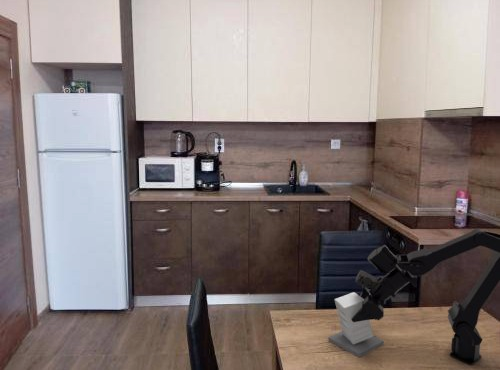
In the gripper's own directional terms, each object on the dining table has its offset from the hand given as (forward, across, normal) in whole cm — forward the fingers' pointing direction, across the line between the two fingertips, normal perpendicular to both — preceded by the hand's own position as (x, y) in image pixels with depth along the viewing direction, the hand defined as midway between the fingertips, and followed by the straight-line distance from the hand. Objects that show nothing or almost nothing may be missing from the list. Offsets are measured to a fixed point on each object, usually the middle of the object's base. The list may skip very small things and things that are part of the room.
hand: (352, 313), depth 128 cm
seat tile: (+6, 0, +8) cm, 9 cm away
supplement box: (+4, 0, +6) cm, 8 cm away
